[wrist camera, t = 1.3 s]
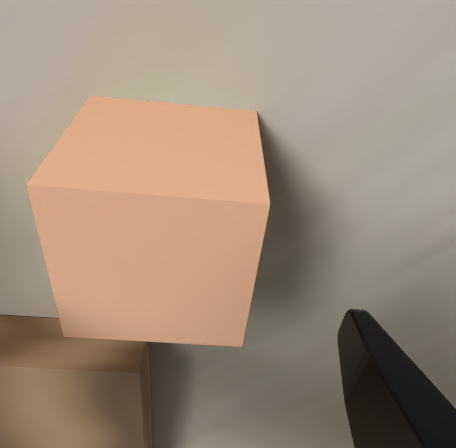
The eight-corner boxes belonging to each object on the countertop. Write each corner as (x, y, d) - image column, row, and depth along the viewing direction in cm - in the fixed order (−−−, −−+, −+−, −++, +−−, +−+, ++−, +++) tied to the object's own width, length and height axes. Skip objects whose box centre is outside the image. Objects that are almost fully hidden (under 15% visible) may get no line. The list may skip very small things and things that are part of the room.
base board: (148, 323, 19) (139, 373, 17) (153, 456, 27) (147, 499, 25) (-176, 304, 18) (-226, 354, 16) (-65, 448, 26) (-89, 492, 24)
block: (256, 110, 12) (270, 204, 9) (238, 235, 16) (242, 346, 12) (90, 94, 12) (26, 184, 8) (105, 225, 15) (63, 336, 11)
